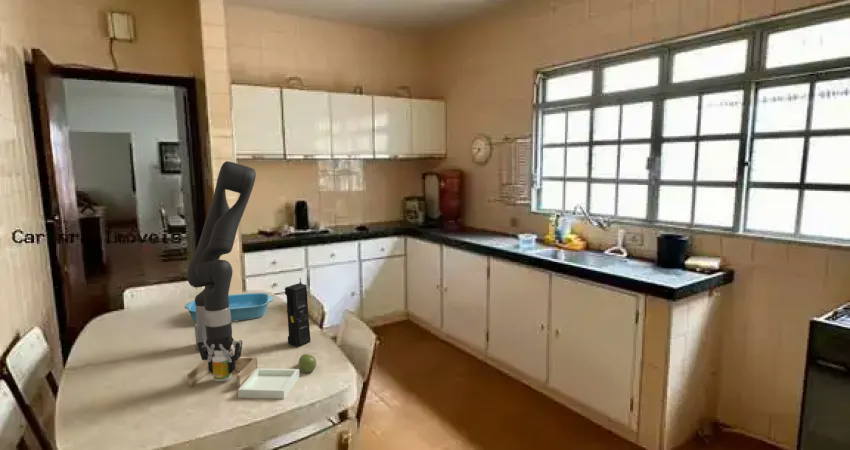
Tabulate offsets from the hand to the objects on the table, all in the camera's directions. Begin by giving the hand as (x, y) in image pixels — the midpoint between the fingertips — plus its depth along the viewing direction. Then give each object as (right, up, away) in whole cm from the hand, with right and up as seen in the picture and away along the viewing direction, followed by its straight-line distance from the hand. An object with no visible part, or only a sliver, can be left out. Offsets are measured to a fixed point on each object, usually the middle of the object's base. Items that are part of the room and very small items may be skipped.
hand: (222, 371), depth 150 cm
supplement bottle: (0, -2, 0) cm, 2 cm away
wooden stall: (0, -3, +1) cm, 3 cm away
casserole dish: (-22, +6, +61) cm, 65 cm away
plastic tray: (+17, -3, -4) cm, 17 cm away
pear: (+25, -2, +9) cm, 27 cm away
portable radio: (+17, +1, +29) cm, 34 cm away
